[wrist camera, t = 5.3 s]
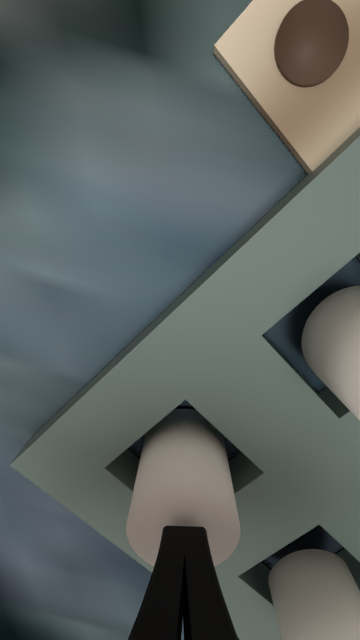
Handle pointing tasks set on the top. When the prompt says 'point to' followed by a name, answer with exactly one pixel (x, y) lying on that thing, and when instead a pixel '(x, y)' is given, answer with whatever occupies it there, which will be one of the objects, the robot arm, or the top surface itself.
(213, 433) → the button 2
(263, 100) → the tile
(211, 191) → the top surface
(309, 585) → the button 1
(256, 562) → the grey-green board with holes
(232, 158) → the top surface
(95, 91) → the top surface
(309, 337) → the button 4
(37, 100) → the top surface
